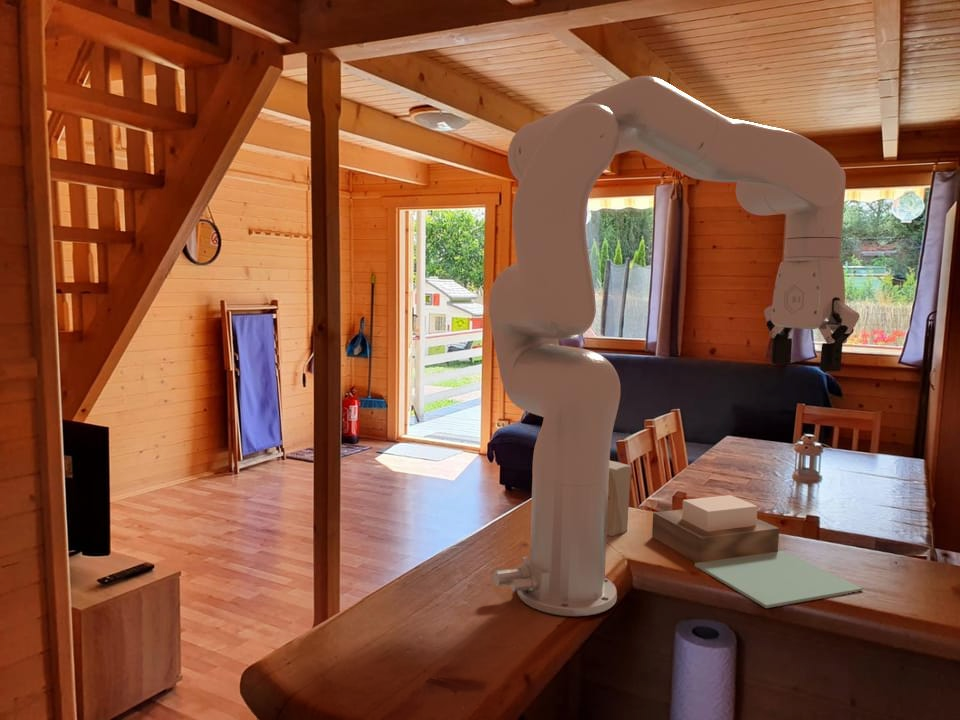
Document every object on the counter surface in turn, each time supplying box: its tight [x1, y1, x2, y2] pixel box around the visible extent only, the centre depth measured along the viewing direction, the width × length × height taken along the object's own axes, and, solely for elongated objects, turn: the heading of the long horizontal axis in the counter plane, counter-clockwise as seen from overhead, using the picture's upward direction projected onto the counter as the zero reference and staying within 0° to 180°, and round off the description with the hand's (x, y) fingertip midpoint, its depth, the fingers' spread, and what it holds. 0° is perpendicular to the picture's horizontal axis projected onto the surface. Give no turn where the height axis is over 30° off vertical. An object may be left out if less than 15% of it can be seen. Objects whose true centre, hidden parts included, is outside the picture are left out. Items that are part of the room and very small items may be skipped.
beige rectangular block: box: [681, 494, 758, 532], centre depth 107 cm, size 9×6×3 cm, turn 110°
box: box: [607, 460, 632, 537], centre depth 114 cm, size 5×4×11 cm
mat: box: [694, 550, 864, 609], centre depth 97 cm, size 16×14×1 cm
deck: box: [651, 508, 780, 563], centre depth 109 cm, size 14×12×4 cm
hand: (804, 367), depth 106 cm, fingers open, 9 cm apart
